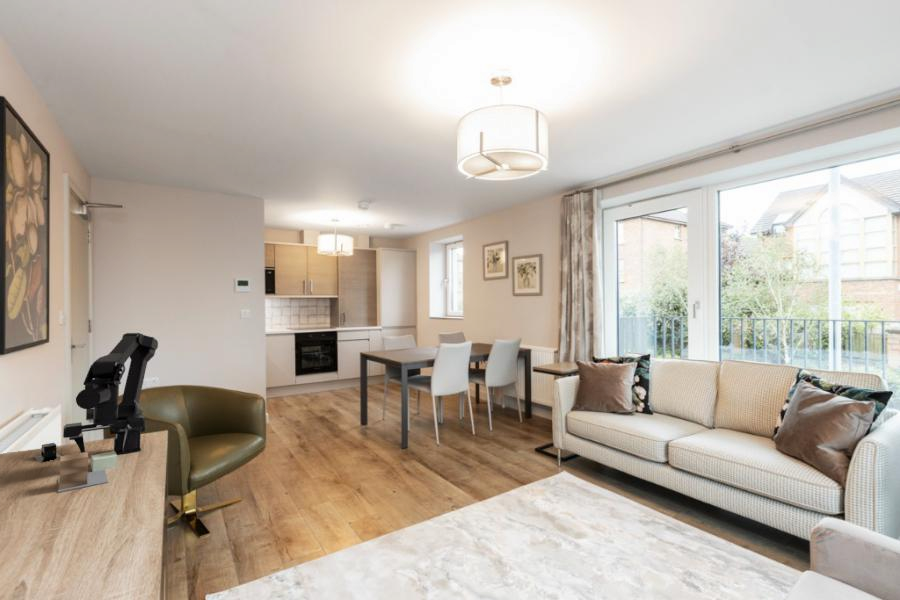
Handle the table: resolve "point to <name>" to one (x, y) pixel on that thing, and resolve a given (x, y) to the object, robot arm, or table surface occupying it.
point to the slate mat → (90, 480)
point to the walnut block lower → (73, 480)
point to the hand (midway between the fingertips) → (104, 454)
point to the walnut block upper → (73, 463)
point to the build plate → (47, 453)
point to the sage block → (103, 461)
